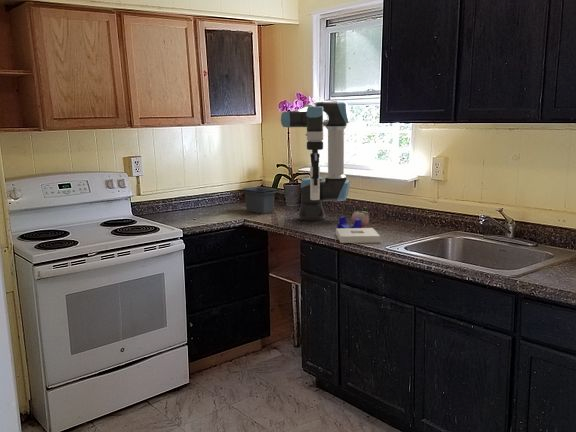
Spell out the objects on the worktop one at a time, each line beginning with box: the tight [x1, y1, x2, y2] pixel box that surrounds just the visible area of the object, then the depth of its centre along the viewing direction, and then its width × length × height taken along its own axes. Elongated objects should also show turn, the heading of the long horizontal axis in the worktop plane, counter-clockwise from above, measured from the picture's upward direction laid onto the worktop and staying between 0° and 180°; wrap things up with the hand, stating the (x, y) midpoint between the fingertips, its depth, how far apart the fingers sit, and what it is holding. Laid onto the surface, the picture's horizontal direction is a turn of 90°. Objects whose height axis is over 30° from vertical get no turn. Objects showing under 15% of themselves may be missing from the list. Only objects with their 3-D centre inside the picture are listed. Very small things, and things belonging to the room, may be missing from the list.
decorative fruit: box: [350, 209, 370, 228], centre depth 283 cm, size 9×8×10 cm
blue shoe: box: [336, 216, 361, 228], centre depth 280 cm, size 12×4×6 cm, turn 42°
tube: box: [309, 166, 321, 200], centre depth 256 cm, size 4×4×15 cm
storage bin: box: [242, 186, 277, 215], centre depth 335 cm, size 21×16×14 cm
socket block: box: [335, 227, 381, 244], centre depth 261 cm, size 18×18×3 cm
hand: (314, 191), depth 257 cm, fingers closed on tube, 4 cm apart
